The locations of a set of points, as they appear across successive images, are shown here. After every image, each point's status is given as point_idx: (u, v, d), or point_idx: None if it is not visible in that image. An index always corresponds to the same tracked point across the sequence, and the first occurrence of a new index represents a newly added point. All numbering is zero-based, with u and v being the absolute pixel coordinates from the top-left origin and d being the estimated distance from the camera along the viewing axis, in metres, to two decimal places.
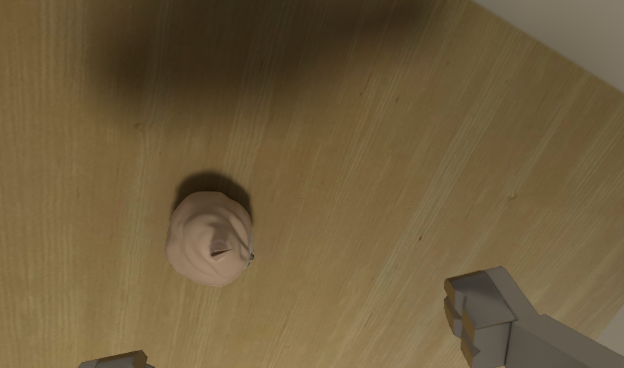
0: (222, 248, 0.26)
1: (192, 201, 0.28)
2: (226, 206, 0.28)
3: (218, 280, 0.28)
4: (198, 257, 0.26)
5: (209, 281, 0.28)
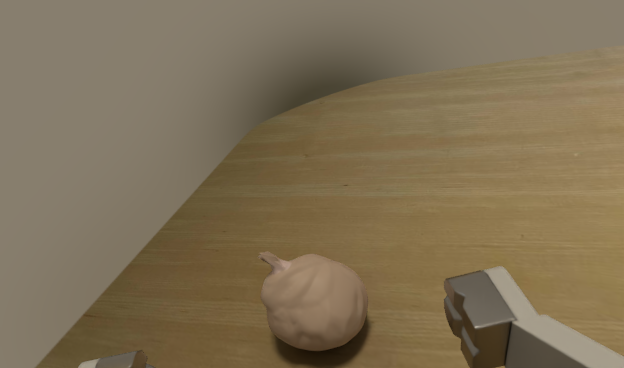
0: None
1: (268, 322, 0.29)
2: None
3: (326, 266, 0.28)
4: (291, 282, 0.27)
5: (327, 273, 0.27)
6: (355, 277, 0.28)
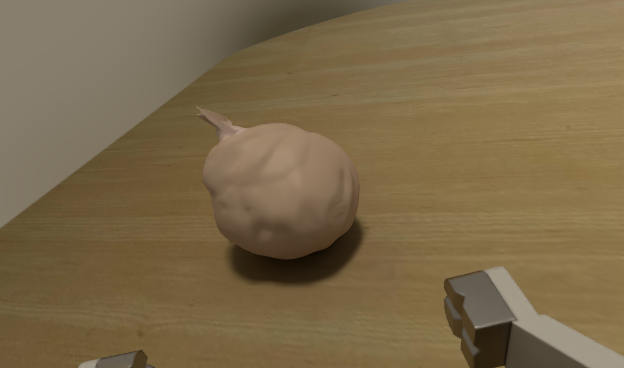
0: None
1: None
2: None
3: (297, 132, 0.19)
4: (244, 149, 0.18)
5: (298, 139, 0.19)
6: (341, 151, 0.20)
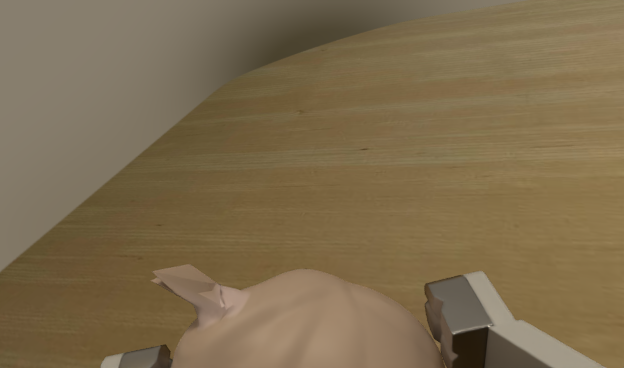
0: None
1: None
2: None
3: (341, 305, 0.10)
4: (244, 351, 0.10)
5: (345, 325, 0.10)
6: (417, 331, 0.11)
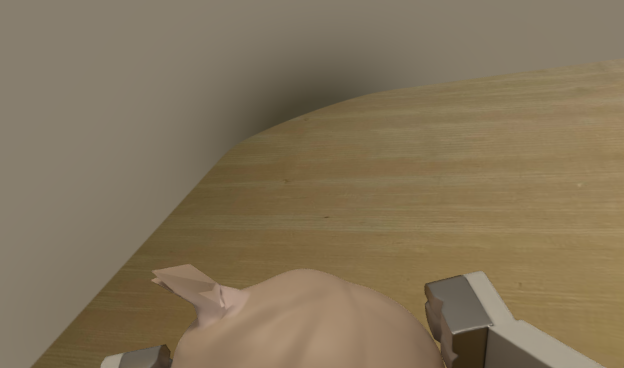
0: None
1: None
2: None
3: (341, 305, 0.10)
4: (244, 352, 0.10)
5: (345, 325, 0.10)
6: (417, 330, 0.11)
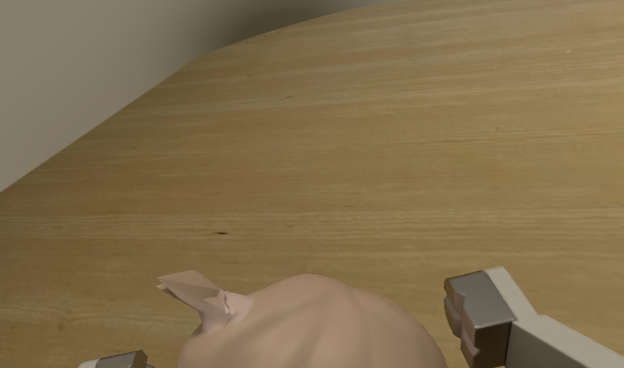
0: None
1: None
2: None
3: (346, 311, 0.10)
4: (249, 358, 0.10)
5: (349, 330, 0.10)
6: (422, 335, 0.11)
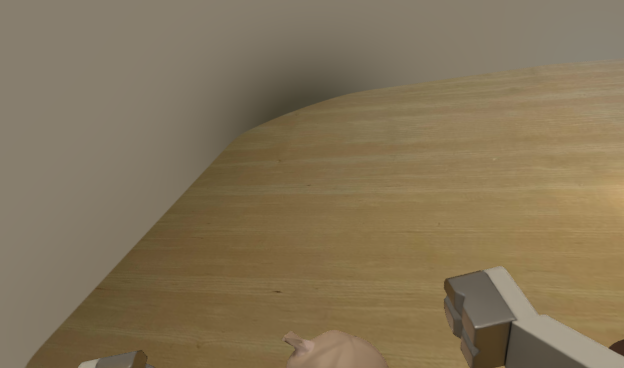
0: None
1: None
2: None
3: (349, 347, 0.28)
4: (315, 365, 0.27)
5: (350, 355, 0.28)
6: (377, 356, 0.29)
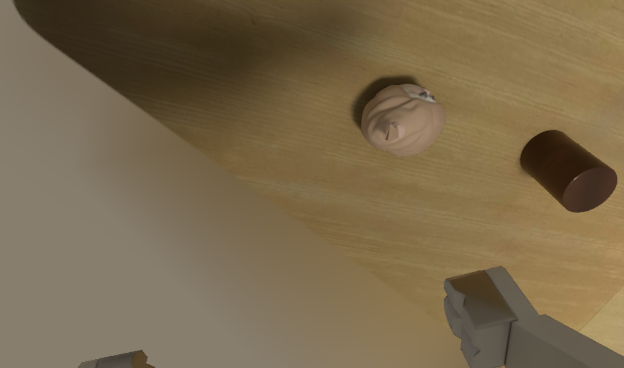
0: None
1: (362, 131, 0.36)
2: (373, 106, 0.35)
3: (429, 130, 0.33)
4: (399, 143, 0.33)
5: (427, 136, 0.34)
6: (443, 125, 0.35)
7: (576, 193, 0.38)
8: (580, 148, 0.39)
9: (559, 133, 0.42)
